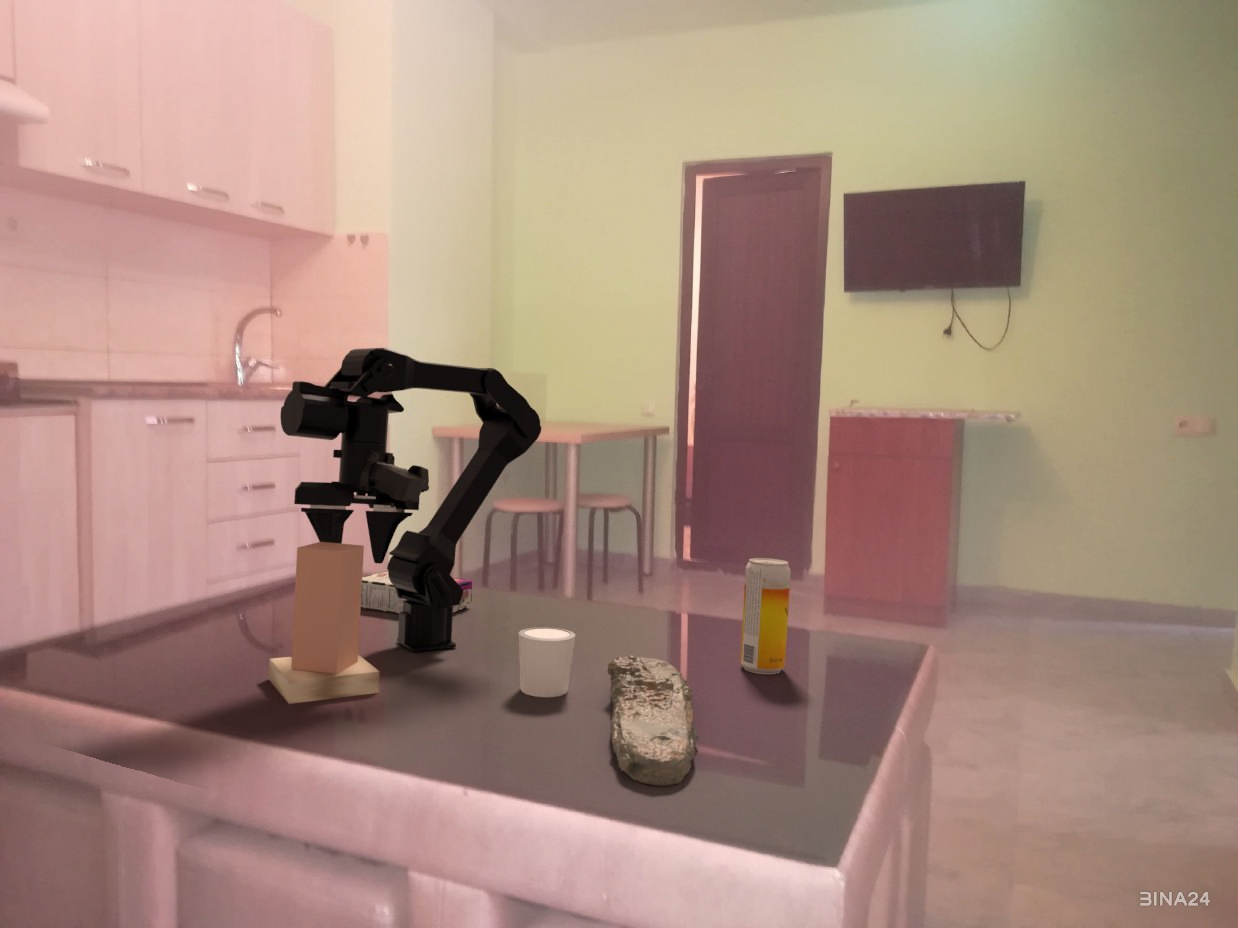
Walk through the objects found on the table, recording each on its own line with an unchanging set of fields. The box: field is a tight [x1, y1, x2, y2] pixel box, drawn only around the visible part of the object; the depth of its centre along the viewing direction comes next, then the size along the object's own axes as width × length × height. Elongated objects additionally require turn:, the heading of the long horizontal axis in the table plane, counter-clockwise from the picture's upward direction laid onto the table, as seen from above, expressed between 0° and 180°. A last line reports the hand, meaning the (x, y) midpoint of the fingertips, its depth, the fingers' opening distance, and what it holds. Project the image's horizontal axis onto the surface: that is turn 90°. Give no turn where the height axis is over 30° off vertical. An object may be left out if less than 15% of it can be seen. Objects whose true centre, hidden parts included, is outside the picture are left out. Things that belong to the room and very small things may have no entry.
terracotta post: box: [291, 541, 365, 674], centre depth 103 cm, size 6×6×14 cm
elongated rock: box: [607, 655, 699, 787], centre depth 97 cm, size 35×5×10 cm
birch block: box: [268, 654, 380, 705], centre depth 104 cm, size 10×10×3 cm
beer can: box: [739, 557, 792, 675], centre depth 121 cm, size 6×6×15 cm
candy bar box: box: [361, 570, 473, 614], centre depth 148 cm, size 11×5×16 cm
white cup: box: [518, 626, 576, 698], centre depth 107 cm, size 7×7×7 cm
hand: (356, 564), depth 114 cm, fingers open, 9 cm apart
